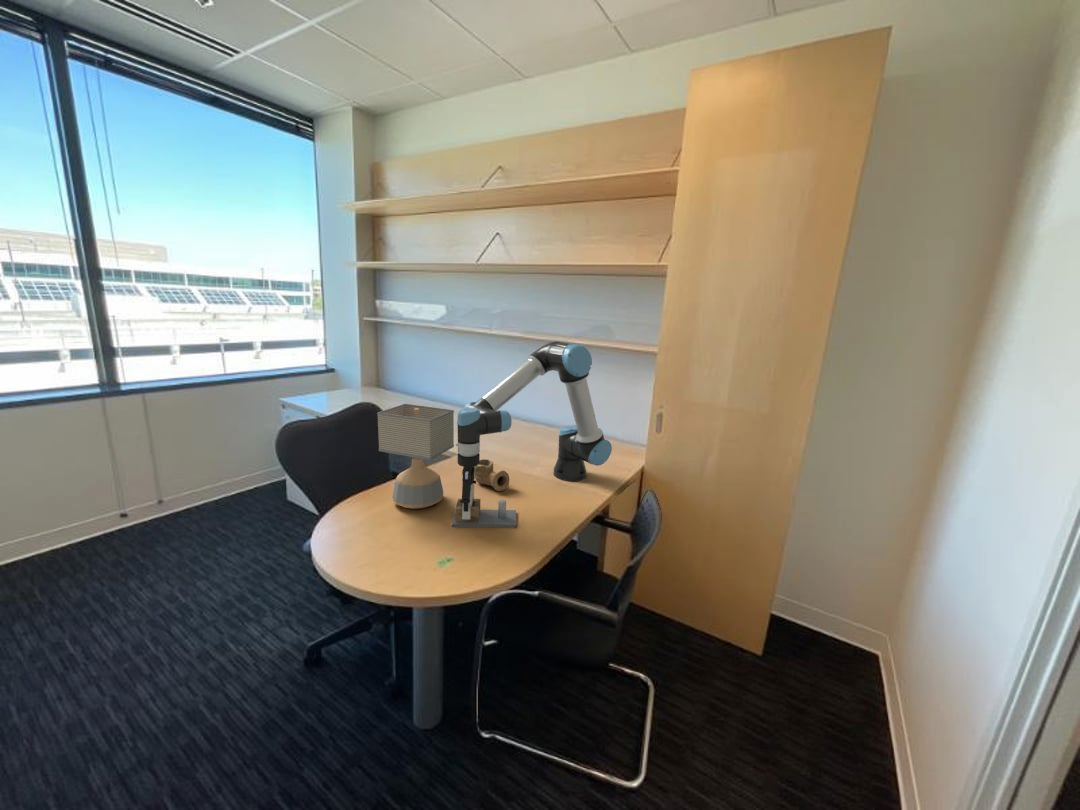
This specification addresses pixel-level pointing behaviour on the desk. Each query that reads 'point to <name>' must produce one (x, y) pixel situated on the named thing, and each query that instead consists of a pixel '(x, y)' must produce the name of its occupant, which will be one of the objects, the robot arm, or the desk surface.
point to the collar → (473, 511)
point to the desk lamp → (416, 449)
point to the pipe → (491, 475)
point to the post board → (491, 517)
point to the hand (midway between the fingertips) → (468, 509)
